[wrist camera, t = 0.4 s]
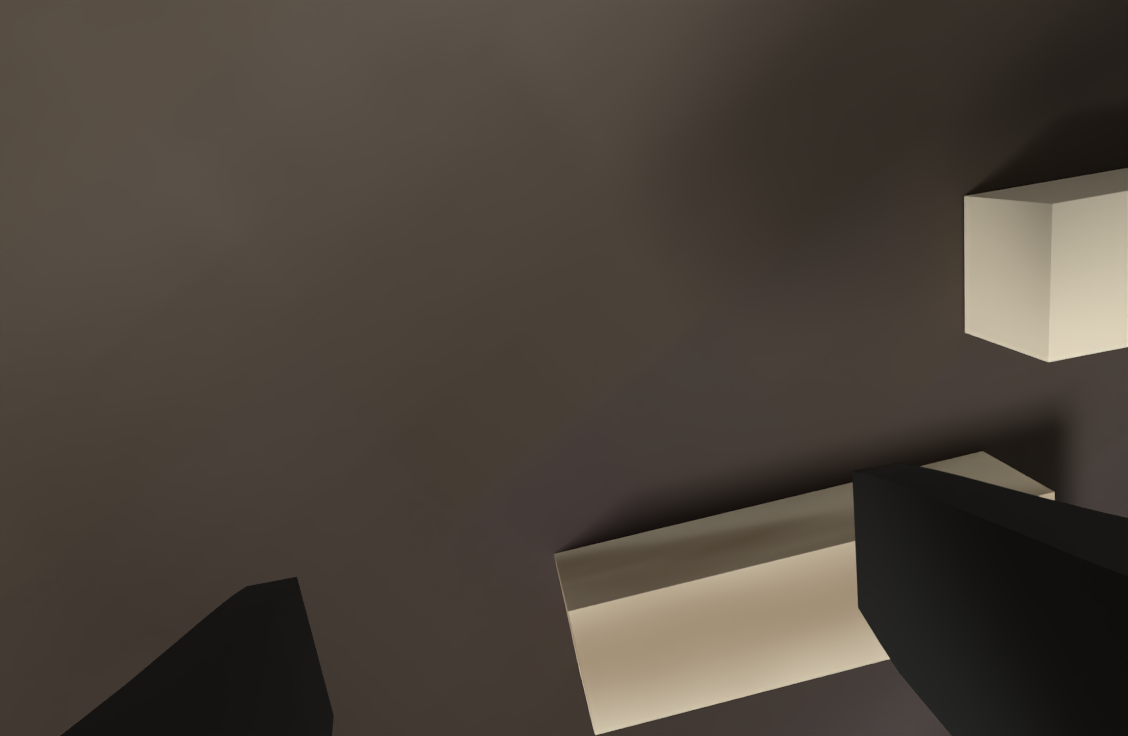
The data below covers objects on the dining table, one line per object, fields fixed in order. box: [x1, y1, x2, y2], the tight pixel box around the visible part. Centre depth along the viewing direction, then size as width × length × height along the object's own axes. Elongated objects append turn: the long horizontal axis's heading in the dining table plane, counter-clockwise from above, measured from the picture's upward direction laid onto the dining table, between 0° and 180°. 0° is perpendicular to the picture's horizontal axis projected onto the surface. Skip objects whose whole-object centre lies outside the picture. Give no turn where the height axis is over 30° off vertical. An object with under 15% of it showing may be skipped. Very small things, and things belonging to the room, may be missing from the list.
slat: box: [554, 451, 1055, 735], centre depth 20 cm, size 4×12×3 cm, turn 101°
